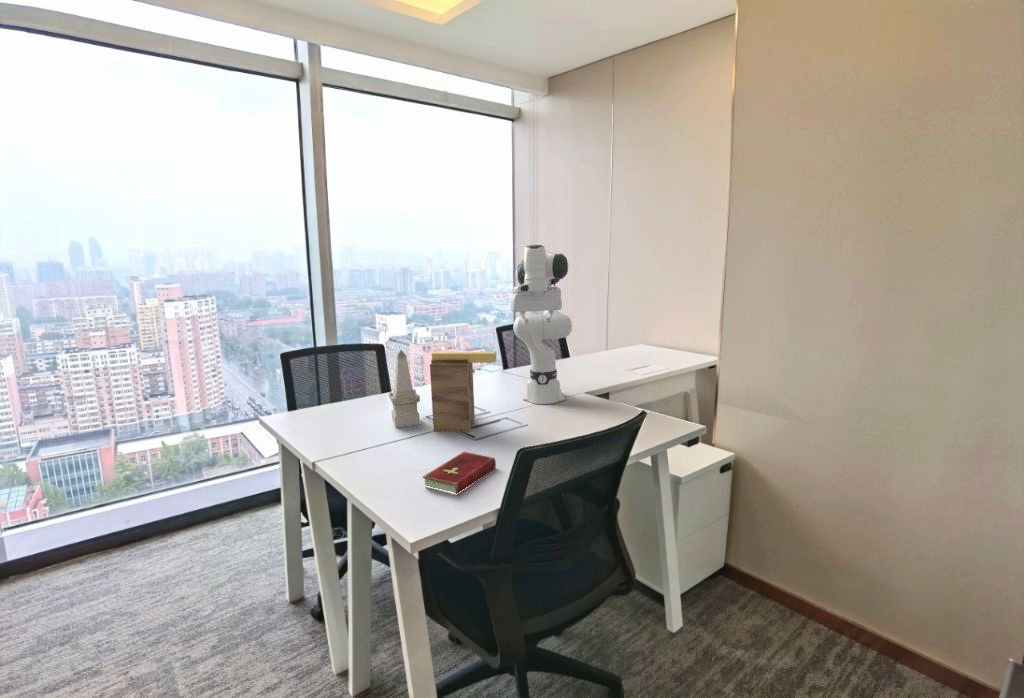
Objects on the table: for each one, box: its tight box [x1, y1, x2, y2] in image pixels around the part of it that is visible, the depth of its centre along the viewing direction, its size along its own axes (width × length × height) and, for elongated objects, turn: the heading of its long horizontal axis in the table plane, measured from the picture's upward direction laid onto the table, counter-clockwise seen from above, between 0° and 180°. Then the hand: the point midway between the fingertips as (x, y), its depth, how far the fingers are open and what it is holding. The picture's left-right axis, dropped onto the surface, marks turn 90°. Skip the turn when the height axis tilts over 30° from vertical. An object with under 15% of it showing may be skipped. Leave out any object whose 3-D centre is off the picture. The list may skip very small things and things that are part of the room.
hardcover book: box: [422, 451, 497, 494], centre depth 157 cm, size 12×21×4 cm, turn 151°
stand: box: [429, 359, 476, 433], centre depth 201 cm, size 10×14×27 cm
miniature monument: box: [388, 349, 421, 428], centre depth 207 cm, size 10×10×30 cm
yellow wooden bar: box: [431, 351, 497, 364], centre depth 197 cm, size 4×24×4 cm, turn 82°
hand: (537, 322), depth 203 cm, fingers open, 8 cm apart
